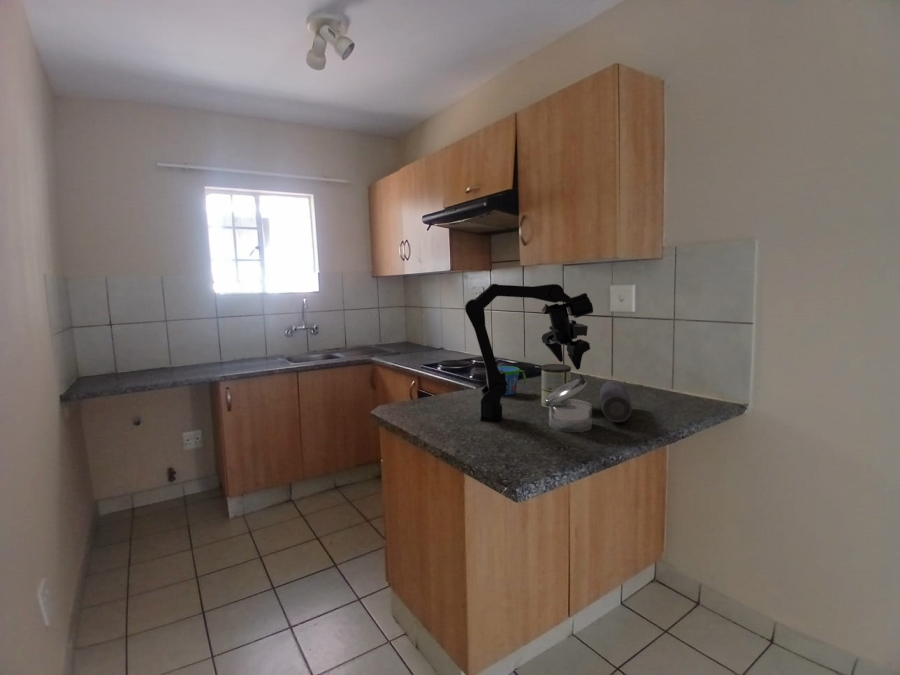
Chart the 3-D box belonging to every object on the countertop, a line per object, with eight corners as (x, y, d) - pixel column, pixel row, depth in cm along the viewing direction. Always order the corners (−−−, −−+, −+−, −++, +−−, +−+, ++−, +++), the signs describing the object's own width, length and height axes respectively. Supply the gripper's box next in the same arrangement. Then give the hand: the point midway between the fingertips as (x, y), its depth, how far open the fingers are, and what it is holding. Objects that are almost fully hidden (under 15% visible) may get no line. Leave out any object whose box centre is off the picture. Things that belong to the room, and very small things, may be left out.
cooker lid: (548, 409, 129) (543, 402, 129) (545, 398, 142) (541, 391, 142) (590, 387, 126) (586, 380, 126) (583, 378, 139) (580, 371, 139)
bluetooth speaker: (633, 427, 132) (634, 395, 131) (600, 425, 135) (601, 393, 134) (626, 407, 154) (627, 379, 153) (598, 405, 157) (599, 378, 155)
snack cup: (487, 397, 171) (486, 371, 169) (486, 390, 181) (485, 366, 180) (527, 396, 170) (527, 371, 169) (524, 390, 180) (524, 365, 179)
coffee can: (539, 401, 164) (539, 363, 162) (567, 401, 163) (568, 363, 161) (542, 409, 153) (542, 369, 152) (572, 409, 152) (573, 369, 151)
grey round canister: (550, 431, 130) (550, 409, 129) (547, 418, 142) (547, 398, 141) (594, 433, 128) (595, 410, 127) (588, 420, 140) (588, 399, 139)
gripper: (600, 318, 134) (608, 363, 139) (563, 308, 151) (572, 349, 156) (569, 331, 131) (579, 377, 137) (536, 320, 148) (546, 361, 153)
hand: (569, 365), depth 146 cm, fingers open, 9 cm apart
